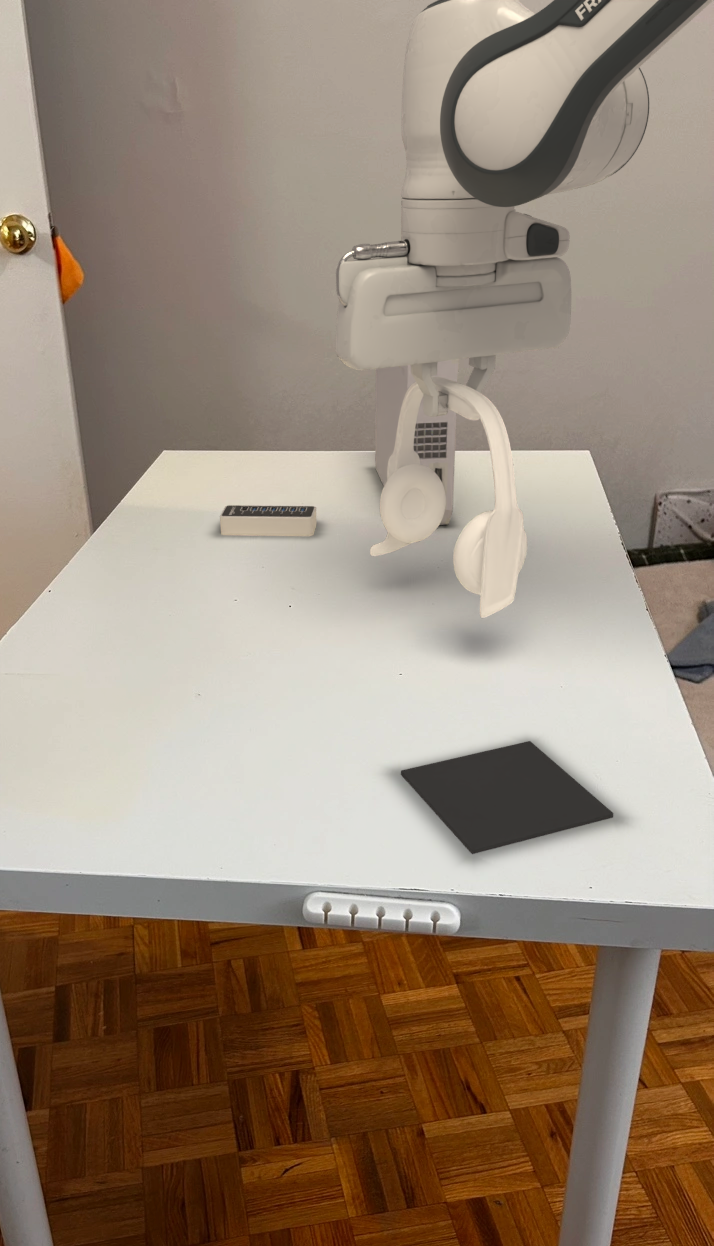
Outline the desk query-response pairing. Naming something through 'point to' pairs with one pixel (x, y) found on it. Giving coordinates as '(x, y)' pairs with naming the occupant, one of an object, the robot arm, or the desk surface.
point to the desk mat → (504, 796)
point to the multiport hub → (268, 520)
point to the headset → (418, 501)
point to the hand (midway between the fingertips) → (452, 412)
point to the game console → (430, 432)
